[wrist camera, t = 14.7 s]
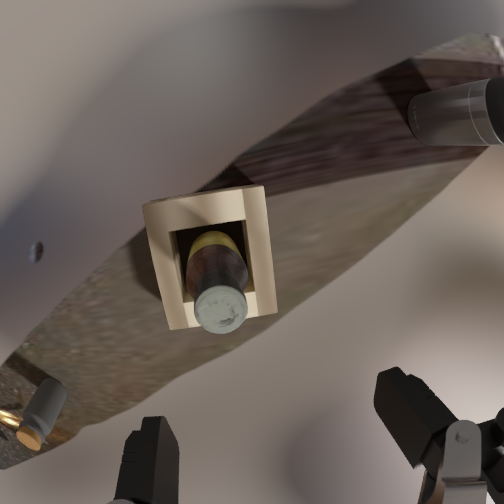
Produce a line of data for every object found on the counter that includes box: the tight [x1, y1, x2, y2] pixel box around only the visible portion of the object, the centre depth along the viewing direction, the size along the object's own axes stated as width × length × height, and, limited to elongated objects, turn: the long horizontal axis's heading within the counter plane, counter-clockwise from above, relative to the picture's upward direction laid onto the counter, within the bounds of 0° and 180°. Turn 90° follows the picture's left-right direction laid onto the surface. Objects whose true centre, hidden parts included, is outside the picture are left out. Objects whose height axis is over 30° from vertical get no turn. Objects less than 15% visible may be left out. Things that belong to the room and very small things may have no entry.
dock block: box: [142, 184, 277, 330], centre depth 37 cm, size 14×16×6 cm
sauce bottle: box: [186, 231, 248, 334], centre depth 31 cm, size 7×6×20 cm
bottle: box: [16, 378, 67, 450], centre depth 35 cm, size 6×6×15 cm
